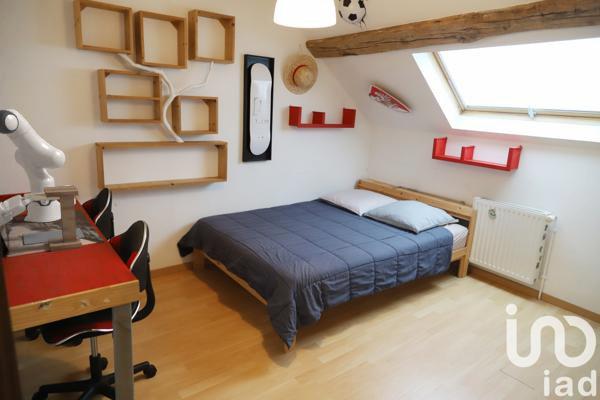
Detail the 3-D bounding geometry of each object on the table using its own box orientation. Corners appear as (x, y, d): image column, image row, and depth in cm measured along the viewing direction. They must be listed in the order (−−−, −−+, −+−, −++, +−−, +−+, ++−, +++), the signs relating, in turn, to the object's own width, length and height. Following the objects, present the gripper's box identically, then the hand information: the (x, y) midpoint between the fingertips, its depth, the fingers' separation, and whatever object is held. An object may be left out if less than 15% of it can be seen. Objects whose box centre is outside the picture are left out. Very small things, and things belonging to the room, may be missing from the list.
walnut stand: (48, 243, 187) (43, 187, 181) (77, 239, 194) (74, 185, 188) (50, 251, 178) (46, 192, 172) (81, 247, 185) (78, 190, 179)
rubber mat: (23, 235, 195) (22, 234, 195) (79, 228, 209) (79, 227, 209) (24, 245, 183) (24, 244, 183) (84, 237, 197) (84, 237, 196)
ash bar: (24, 200, 187) (24, 193, 186) (74, 196, 199) (73, 190, 198) (24, 201, 185) (24, 195, 184) (75, 198, 196) (74, 192, 196)
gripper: (-3, 213, 172) (29, 195, 178) (-3, 202, 189) (27, 186, 194) (7, 225, 175) (39, 206, 181) (7, 213, 192) (36, 197, 197)
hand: (33, 196), depth 187 cm, fingers closed on ash bar, 3 cm apart
